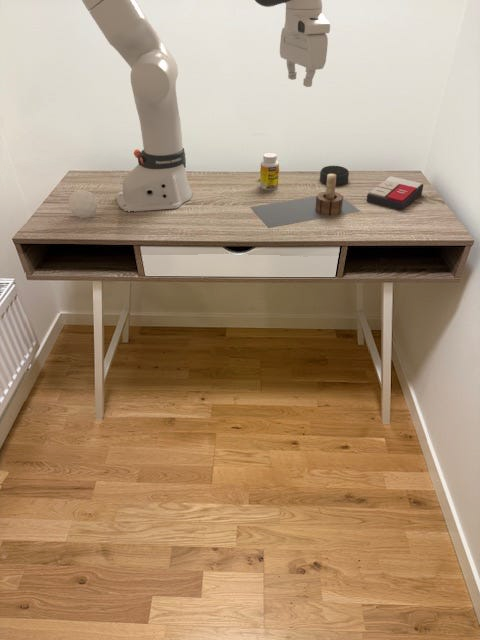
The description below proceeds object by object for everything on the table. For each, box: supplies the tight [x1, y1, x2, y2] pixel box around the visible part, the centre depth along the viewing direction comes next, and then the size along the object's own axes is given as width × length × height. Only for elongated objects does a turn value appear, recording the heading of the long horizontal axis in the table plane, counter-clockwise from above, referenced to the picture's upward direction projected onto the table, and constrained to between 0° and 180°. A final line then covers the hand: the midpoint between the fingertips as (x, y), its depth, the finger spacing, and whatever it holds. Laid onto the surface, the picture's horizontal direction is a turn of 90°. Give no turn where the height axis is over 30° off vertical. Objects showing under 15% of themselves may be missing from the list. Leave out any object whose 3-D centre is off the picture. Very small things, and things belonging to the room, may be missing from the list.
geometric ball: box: [68, 189, 99, 220], centre depth 134 cm, size 8×8×8 cm
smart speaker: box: [319, 165, 350, 187], centre depth 153 cm, size 9×9×4 cm
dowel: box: [325, 174, 336, 200], centre depth 134 cm, size 2×2×10 cm
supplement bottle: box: [259, 152, 280, 191], centre depth 148 cm, size 6×6×10 cm
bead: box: [315, 191, 344, 217], centre depth 135 cm, size 7×7×4 cm
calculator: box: [366, 175, 424, 211], centre depth 142 cm, size 11×4×15 cm
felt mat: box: [249, 195, 361, 228], centre depth 138 cm, size 28×14×1 cm, turn 110°
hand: (299, 82), depth 128 cm, fingers open, 8 cm apart
